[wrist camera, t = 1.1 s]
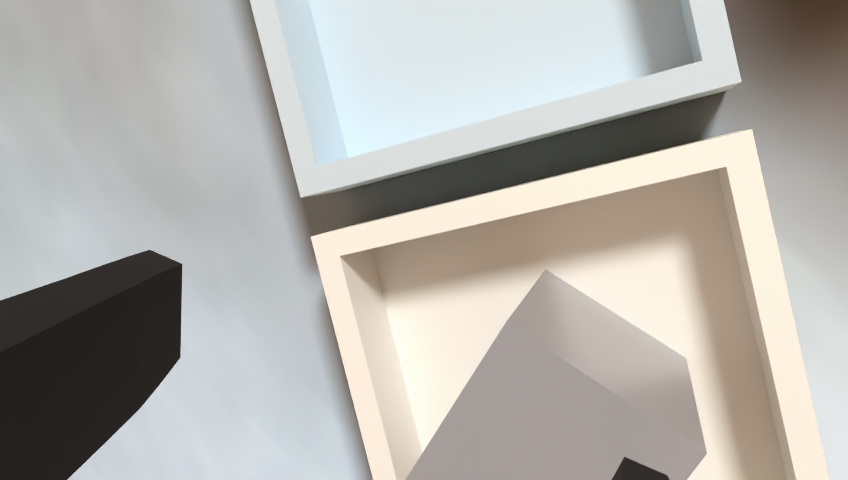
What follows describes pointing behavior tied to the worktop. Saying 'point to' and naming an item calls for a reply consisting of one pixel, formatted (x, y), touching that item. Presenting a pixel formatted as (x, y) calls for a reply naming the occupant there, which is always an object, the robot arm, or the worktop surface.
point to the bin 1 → (473, 75)
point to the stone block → (568, 399)
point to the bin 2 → (595, 277)
